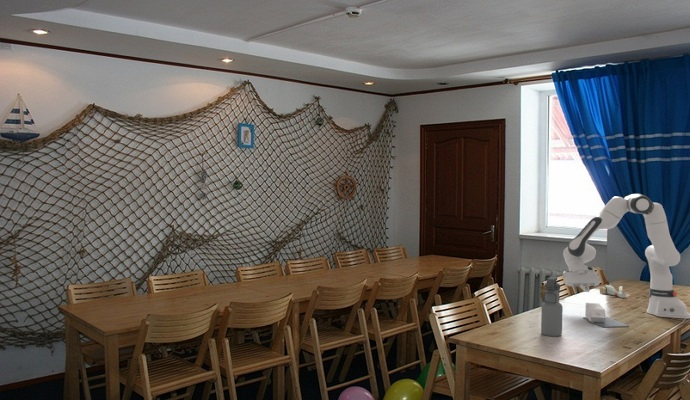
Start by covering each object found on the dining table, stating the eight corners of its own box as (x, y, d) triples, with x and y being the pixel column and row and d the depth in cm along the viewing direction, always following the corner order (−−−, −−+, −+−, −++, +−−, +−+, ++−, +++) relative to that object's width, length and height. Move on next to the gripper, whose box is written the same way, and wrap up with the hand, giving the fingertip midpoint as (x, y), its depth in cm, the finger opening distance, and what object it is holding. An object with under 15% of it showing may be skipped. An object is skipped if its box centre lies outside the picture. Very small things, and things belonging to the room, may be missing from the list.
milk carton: (598, 316, 333) (606, 324, 314) (585, 315, 334) (591, 323, 316) (599, 303, 332) (606, 311, 314) (585, 302, 334) (591, 310, 315)
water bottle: (559, 338, 289) (560, 280, 288) (538, 335, 294) (539, 278, 293) (563, 333, 298) (565, 277, 297) (543, 330, 303) (544, 275, 302)
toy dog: (623, 299, 385) (623, 285, 384) (595, 294, 399) (596, 281, 399) (632, 296, 392) (633, 283, 392) (605, 292, 407) (605, 279, 406)
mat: (583, 318, 330) (583, 317, 330) (606, 317, 332) (606, 316, 332) (603, 327, 310) (603, 326, 310) (628, 326, 312) (628, 325, 312)
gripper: (563, 268, 344) (572, 288, 334) (596, 267, 347) (605, 287, 338) (559, 274, 348) (567, 294, 339) (591, 274, 351) (601, 294, 342)
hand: (587, 291), depth 338 cm, fingers closed
